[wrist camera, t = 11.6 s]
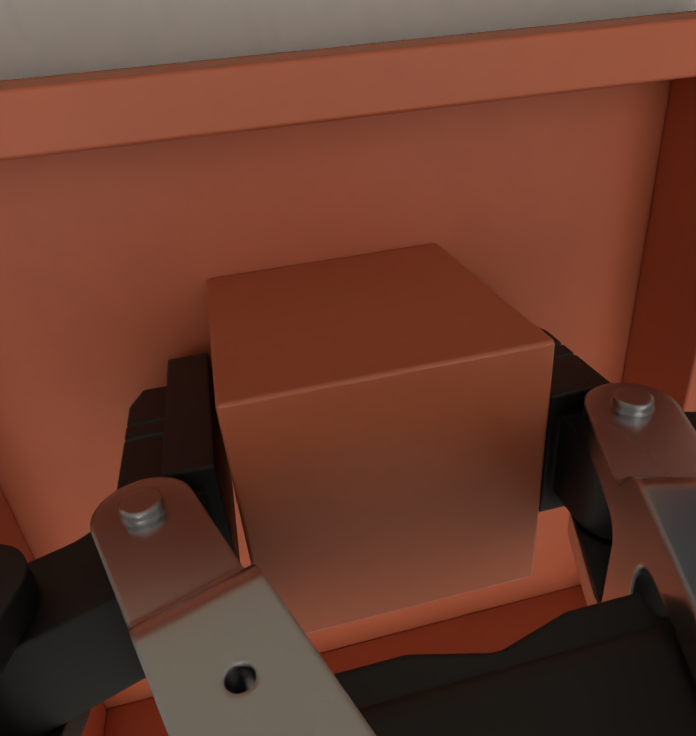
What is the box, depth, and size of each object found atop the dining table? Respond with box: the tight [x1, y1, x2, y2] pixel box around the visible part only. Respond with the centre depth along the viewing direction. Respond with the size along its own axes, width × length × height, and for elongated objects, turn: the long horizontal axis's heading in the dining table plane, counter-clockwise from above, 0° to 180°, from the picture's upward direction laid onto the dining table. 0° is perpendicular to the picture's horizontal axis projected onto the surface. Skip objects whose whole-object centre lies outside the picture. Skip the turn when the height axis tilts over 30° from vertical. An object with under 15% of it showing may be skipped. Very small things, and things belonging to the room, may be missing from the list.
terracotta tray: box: [0, 11, 696, 736], centre depth 13 cm, size 15×15×3 cm
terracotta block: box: [206, 243, 555, 634], centre depth 10 cm, size 4×4×4 cm
